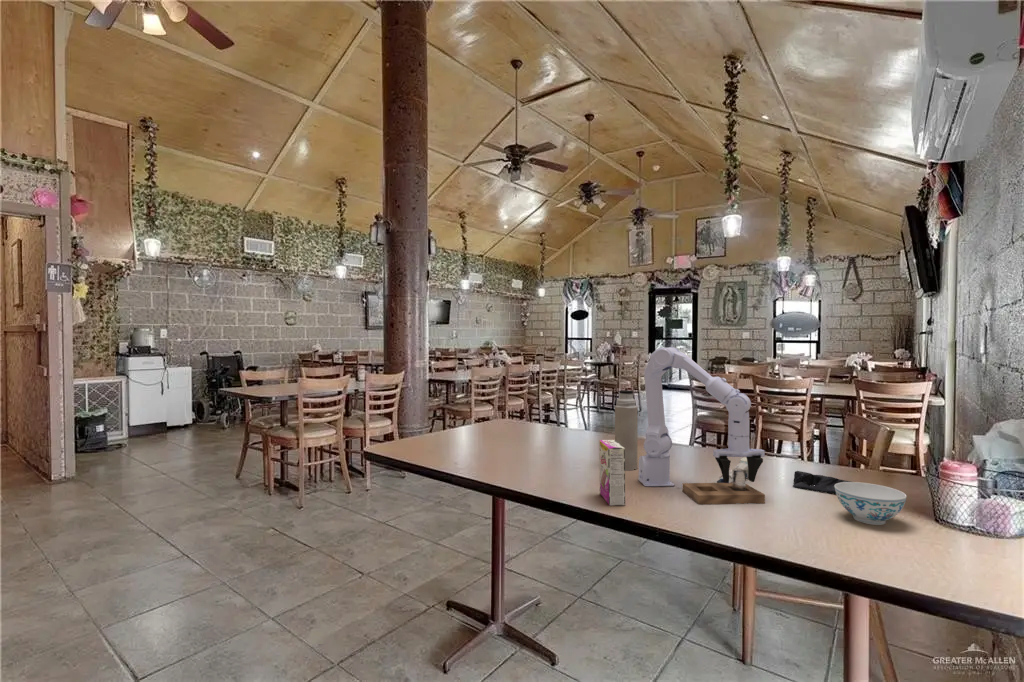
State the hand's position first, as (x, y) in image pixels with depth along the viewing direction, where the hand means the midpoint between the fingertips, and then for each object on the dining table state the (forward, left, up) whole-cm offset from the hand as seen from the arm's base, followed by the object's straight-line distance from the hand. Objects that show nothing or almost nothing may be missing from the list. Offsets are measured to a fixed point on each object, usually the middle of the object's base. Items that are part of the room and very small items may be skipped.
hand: (738, 481), depth 147 cm
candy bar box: (-38, -1, -5) cm, 38 cm away
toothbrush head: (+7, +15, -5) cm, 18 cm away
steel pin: (0, 0, -5) cm, 5 cm away
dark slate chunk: (+34, +6, -5) cm, 35 cm away
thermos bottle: (-24, +35, -5) cm, 43 cm away
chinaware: (+24, -20, -5) cm, 32 cm away
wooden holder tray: (-5, 0, -5) cm, 7 cm away
